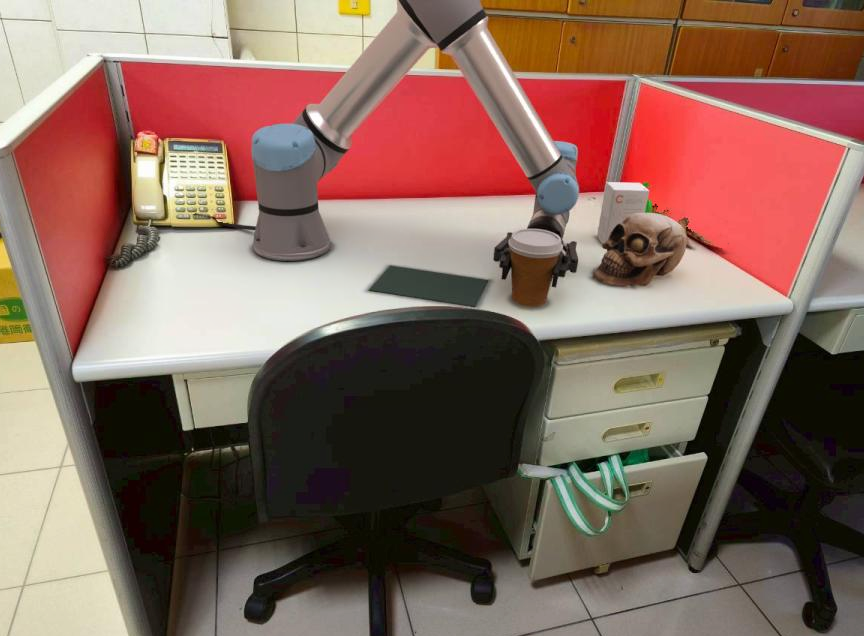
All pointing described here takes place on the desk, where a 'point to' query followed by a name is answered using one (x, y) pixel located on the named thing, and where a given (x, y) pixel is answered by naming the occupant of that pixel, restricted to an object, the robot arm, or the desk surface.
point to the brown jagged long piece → (692, 233)
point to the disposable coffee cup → (533, 265)
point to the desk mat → (430, 285)
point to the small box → (620, 205)
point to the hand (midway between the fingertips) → (529, 276)
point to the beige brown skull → (641, 250)
